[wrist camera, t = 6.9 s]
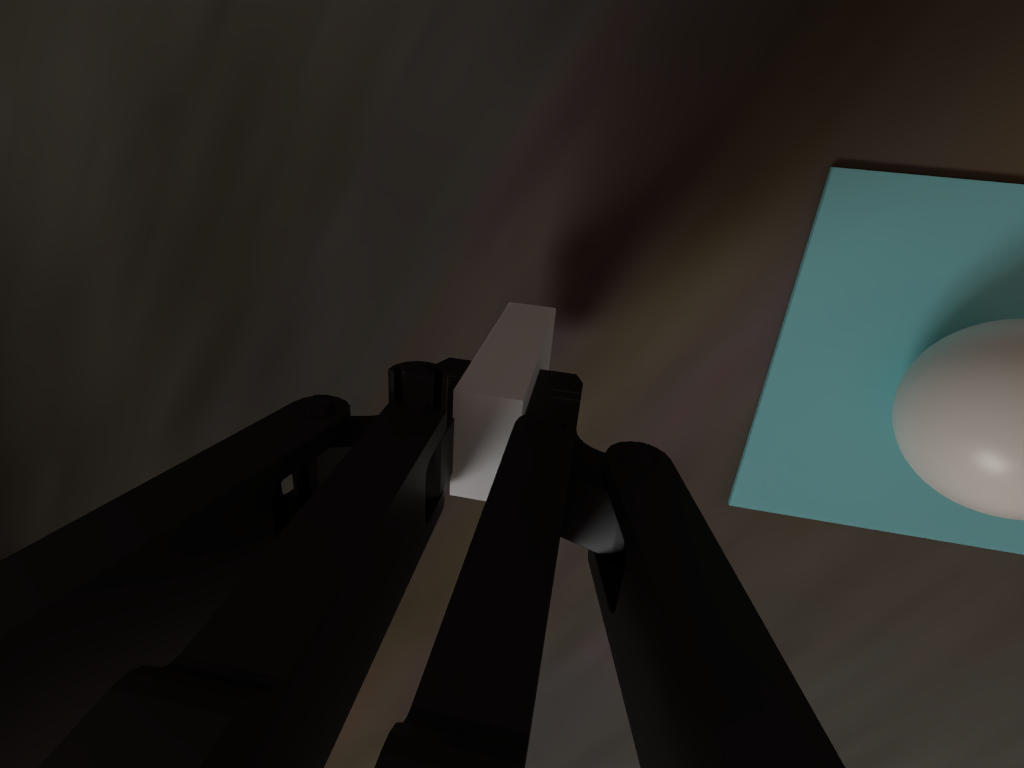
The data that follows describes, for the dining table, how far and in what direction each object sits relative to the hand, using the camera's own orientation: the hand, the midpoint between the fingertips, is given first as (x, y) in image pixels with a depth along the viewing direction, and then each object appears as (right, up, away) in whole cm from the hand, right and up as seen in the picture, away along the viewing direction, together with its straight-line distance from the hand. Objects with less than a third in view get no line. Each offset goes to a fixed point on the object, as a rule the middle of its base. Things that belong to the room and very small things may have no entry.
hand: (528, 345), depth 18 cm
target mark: (+14, -1, 0) cm, 14 cm away
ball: (+13, -2, -2) cm, 14 cm away
